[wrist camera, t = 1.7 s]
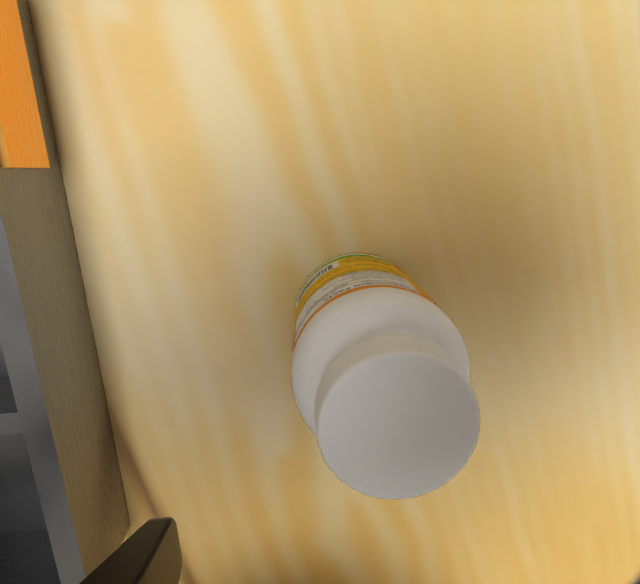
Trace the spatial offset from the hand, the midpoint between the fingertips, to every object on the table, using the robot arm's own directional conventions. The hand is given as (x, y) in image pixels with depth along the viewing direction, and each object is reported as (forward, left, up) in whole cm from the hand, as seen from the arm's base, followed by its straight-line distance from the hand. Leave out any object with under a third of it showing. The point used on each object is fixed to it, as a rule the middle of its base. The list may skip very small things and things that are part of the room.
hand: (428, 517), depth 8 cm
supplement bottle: (0, 0, -13) cm, 13 cm away
